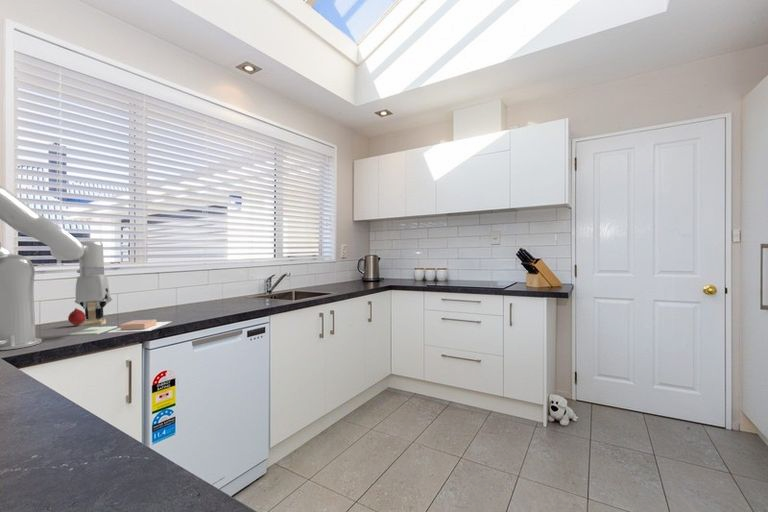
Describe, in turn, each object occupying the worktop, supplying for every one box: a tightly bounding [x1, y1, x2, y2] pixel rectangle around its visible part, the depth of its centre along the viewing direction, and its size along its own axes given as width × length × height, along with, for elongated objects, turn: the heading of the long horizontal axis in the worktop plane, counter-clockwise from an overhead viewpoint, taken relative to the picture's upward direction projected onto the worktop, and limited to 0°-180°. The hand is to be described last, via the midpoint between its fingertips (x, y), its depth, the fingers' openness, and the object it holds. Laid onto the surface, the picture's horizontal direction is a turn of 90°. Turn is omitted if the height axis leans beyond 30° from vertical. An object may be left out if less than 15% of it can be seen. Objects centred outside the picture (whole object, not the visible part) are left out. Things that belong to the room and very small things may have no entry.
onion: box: [67, 307, 86, 327], centre depth 159 cm, size 6×6×8 cm
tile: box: [120, 319, 158, 330], centre depth 148 cm, size 2×9×9 cm
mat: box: [108, 321, 171, 333], centre depth 150 cm, size 18×16×1 cm
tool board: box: [68, 325, 118, 336], centre depth 144 cm, size 12×10×1 cm
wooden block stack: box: [83, 301, 107, 327], centre depth 144 cm, size 3×6×10 cm, turn 96°
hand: (94, 317), depth 144 cm, fingers closed on wooden block stack, 3 cm apart
